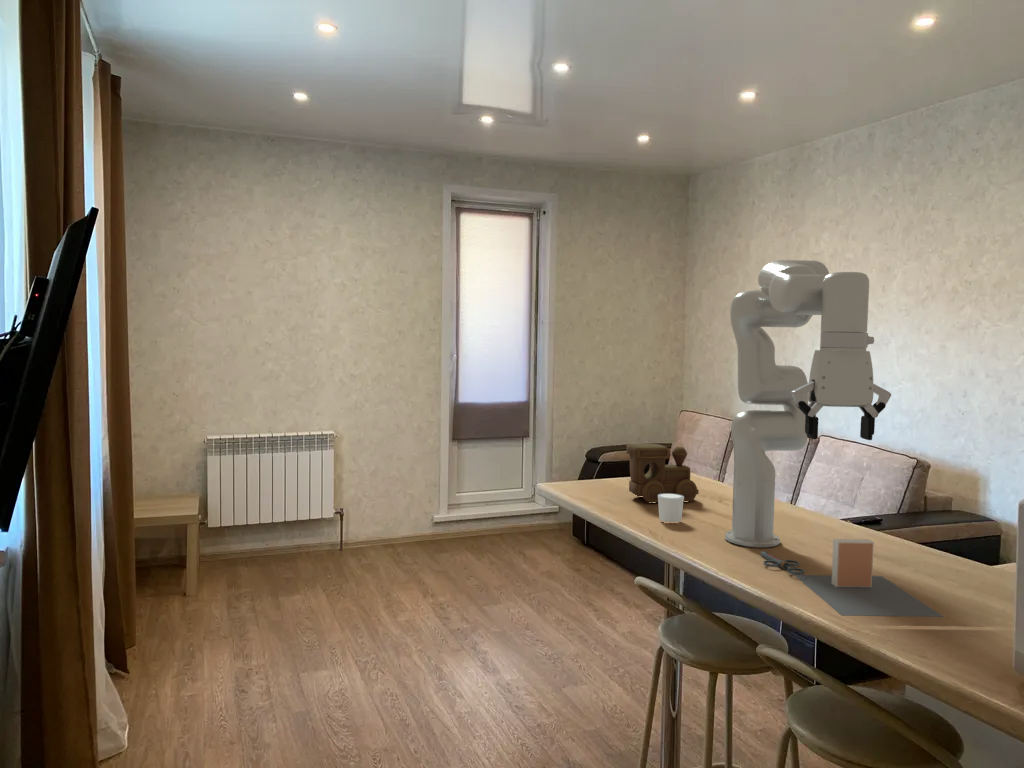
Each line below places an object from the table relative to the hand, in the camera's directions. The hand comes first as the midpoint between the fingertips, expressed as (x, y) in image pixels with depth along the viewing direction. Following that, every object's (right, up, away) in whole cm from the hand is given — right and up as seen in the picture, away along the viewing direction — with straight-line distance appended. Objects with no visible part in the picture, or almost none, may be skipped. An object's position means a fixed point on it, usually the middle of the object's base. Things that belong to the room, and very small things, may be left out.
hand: (839, 438), depth 133 cm
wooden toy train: (-13, -25, +91) cm, 95 cm away
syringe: (-1, -29, +27) cm, 40 cm away
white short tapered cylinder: (-16, -27, +65) cm, 72 cm away
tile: (+9, -30, +14) cm, 34 cm away
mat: (+9, -31, +9) cm, 33 cm away
